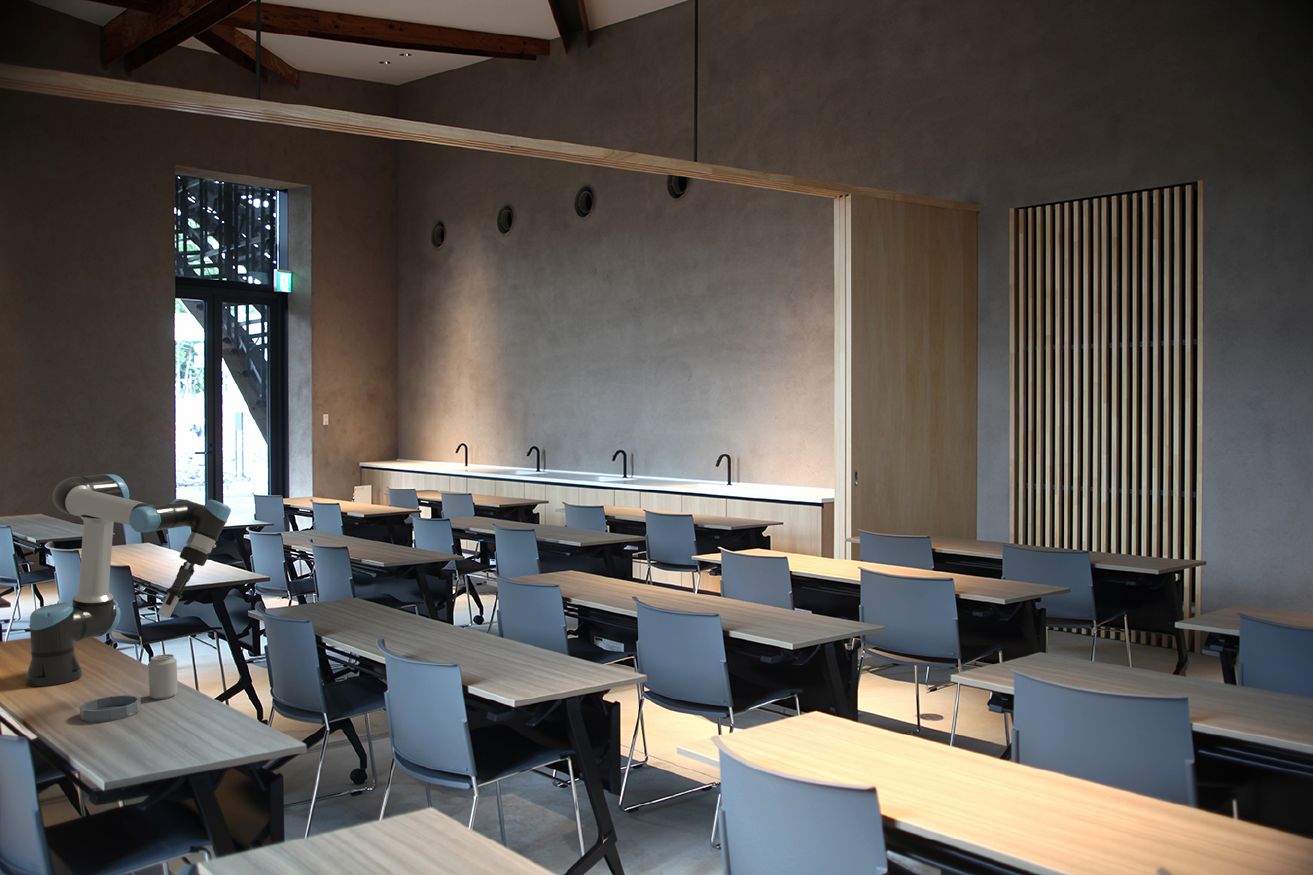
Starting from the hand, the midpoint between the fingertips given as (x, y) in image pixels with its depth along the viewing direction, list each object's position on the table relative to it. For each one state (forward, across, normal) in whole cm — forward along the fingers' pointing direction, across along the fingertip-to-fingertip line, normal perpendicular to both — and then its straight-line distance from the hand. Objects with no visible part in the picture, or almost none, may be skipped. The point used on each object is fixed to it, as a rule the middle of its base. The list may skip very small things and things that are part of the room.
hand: (163, 616), depth 293 cm
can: (+21, +4, -10) cm, 24 cm away
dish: (+29, -8, 0) cm, 30 cm away
